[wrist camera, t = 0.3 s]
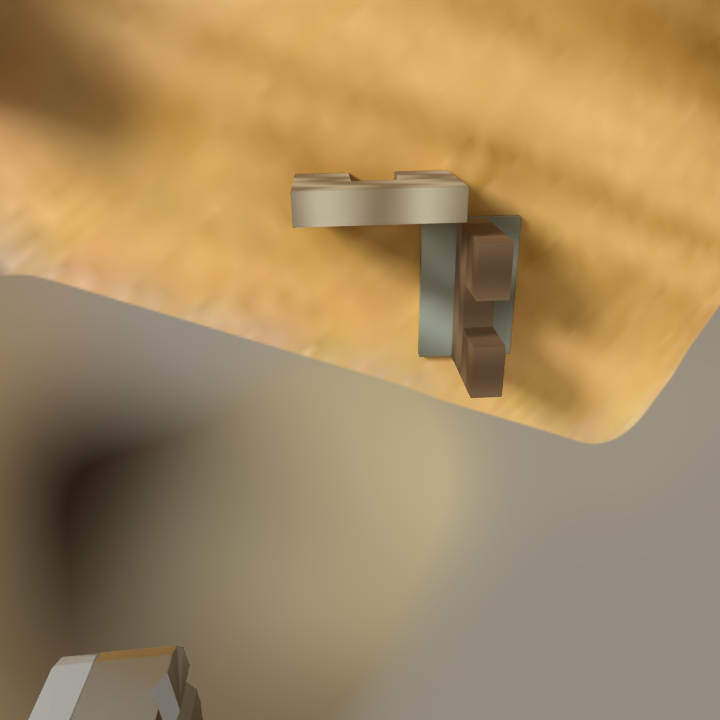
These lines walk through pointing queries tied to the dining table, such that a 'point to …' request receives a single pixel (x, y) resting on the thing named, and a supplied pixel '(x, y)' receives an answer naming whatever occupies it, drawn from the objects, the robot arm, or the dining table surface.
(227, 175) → the dining table surface
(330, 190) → the maple slotted plate
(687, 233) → the dining table surface
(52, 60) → the dining table surface
